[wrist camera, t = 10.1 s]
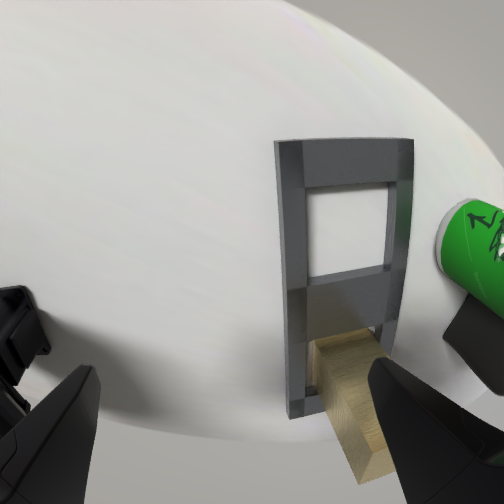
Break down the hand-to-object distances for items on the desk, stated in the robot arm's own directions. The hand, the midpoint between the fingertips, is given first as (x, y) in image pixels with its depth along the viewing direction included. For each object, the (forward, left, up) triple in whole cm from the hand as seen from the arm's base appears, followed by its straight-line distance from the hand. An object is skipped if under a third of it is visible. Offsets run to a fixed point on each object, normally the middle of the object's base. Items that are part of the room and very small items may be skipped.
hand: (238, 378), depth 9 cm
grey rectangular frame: (+9, -7, -13) cm, 17 cm away
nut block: (+9, -13, -13) cm, 21 cm away
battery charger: (+25, -13, -13) cm, 31 cm away
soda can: (+21, -3, -13) cm, 25 cm away
